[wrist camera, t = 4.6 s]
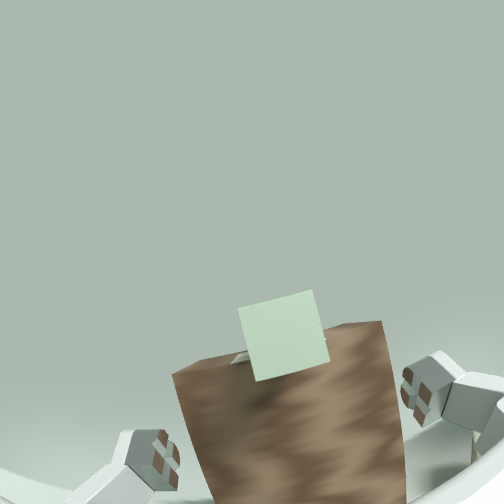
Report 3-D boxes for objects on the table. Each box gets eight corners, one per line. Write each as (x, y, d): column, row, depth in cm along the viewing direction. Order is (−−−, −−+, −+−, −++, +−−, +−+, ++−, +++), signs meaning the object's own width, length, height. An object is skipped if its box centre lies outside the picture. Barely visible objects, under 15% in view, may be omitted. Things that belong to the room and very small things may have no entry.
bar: (284, 338, 31) (278, 314, 32) (330, 361, 10) (311, 289, 11) (259, 345, 31) (253, 320, 32) (256, 381, 10) (237, 308, 11)
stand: (376, 499, 22) (344, 323, 29) (405, 537, 12) (381, 319, 19) (256, 531, 21) (200, 359, 28) (254, 578, 12) (171, 373, 18)
